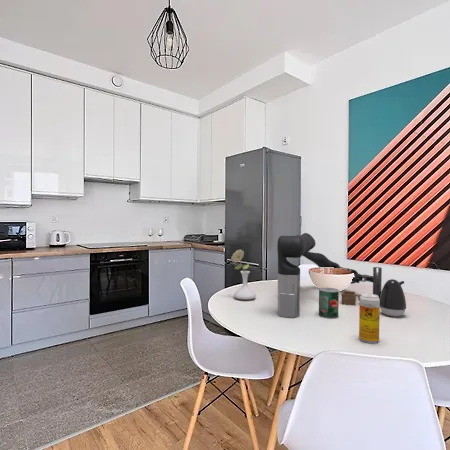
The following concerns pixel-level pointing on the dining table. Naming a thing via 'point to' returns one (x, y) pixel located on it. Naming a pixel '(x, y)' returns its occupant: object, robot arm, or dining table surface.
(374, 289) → the copper and grey mallet
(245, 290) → the flower in vase
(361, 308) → the beer can
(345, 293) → the socket
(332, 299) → the canned tomato
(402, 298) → the pump dispenser
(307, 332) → the dining table surface
